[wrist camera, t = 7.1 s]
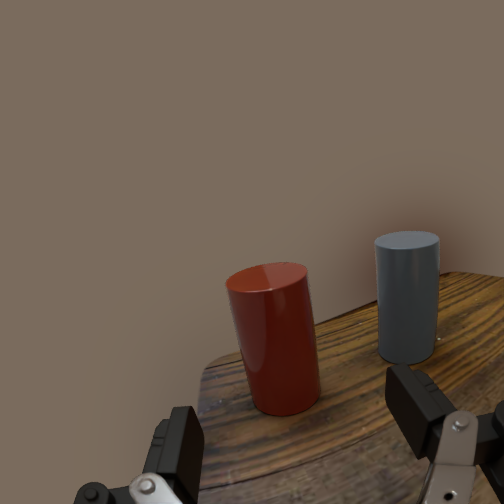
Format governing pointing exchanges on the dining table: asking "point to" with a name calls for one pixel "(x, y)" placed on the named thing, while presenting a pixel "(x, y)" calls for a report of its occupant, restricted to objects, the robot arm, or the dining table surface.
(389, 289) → the grey upright cylinder
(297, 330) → the glossy red cylinder
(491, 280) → the dining table surface
